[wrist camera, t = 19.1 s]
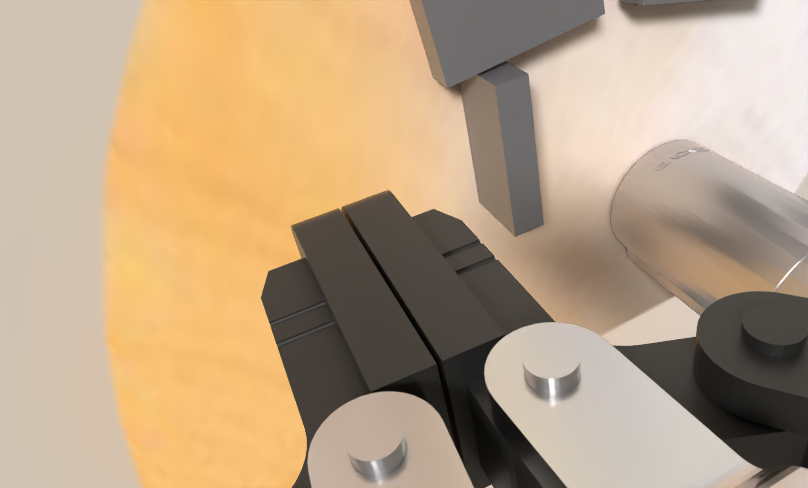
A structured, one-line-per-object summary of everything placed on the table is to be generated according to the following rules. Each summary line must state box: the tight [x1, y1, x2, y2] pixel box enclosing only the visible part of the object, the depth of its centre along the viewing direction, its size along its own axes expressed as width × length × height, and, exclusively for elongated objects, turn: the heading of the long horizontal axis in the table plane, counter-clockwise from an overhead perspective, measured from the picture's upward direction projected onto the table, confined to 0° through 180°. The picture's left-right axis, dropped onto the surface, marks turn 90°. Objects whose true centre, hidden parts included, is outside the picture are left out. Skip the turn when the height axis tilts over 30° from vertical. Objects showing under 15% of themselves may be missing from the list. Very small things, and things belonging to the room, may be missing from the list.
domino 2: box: [460, 61, 543, 237], centre depth 40 cm, size 5×2×10 cm
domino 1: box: [410, 0, 605, 89], centre depth 36 cm, size 5×2×10 cm
